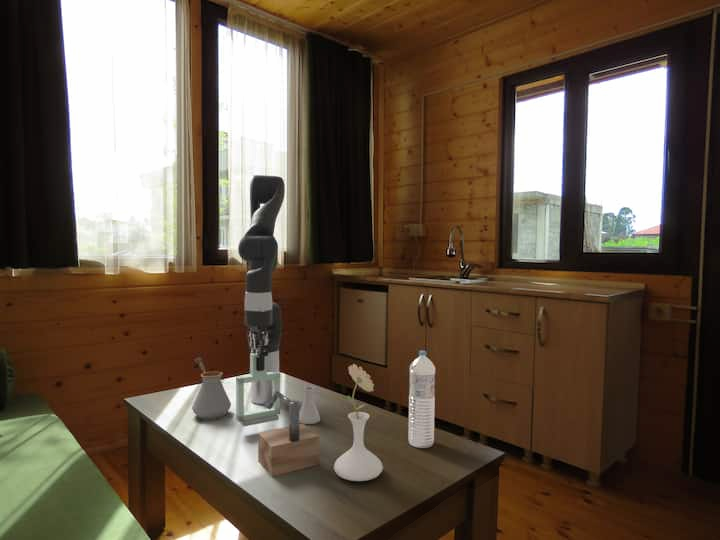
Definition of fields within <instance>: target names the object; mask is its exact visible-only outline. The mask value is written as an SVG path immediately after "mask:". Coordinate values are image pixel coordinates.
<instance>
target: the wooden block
mask: <svg viewBox="0 0 720 540" xmlns="http://www.w3.org/2000/svg"><path fill="white" fill-rule="evenodd" d="M257 435H258V436H257V438H258V439H257V445H258V446H257V448H258V450H257V460H258V461H257V462H260V463H261V464H260V463H259V464H260V465H261V466H262V467H263V468H265V469H266V470H267V471H268V472H269V473H268V472H267V471H266V470H265V469H264V470H265V471H266V472H267V473H268V475H269V476H270V475H271V476H273V477H275V475H277V476H280V475H284V474H287V473H291V472H296V471H299V470H303V469H306V468H310V467H315V466H318V465H319V464H320V461H319V460H320V457H319V456H320V435H318V434H317V433H316V432H315V431H313V429H311V428H309V427H308V426H307V424H302V423H299V441H297V442H291V441H289V426H286V427H281V428H276V429H271V430H267V431H266V430H265V431H260V432H258V433H257ZM271 476H270V477H271Z"/></svg>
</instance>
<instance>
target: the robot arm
mask: <svg viewBox="0 0 720 540" xmlns="http://www.w3.org/2000/svg"><path fill="white" fill-rule="evenodd" d="M249 181H250V182H249V202H250V203H249V205H250V206H249V207H250V210H249V211H250V213H249V214H250V223H249V228H248V229H247V230H246V232H245V233H244V234H243V235H242V237H241V238H240V240H239V243H238V248H237V249H238V255H239V257H240V259H242V260H243V261H245V262H249V265H248V267H249V268H248V269H249V270H248V271H247V272H246V274H245V293H244V294H245V295H244V326H246V327H247V328H248V329H249V330H247V332H246V334H247V335H246V336H247V343H248V350H249V352H250V353H256V370H257V371H263V370H264V357H266V356H267V372H274V371H278V372H280V345H281V344H280V343H281V340H282V337H281V336H282V321H283V319H282V318H283V316H282V309H281V306H280V305H279V304H278V303H277V302H274V301H273V297H272V276H273V274H274V273H275V271H276V269H277V266H278V261H279V258H278V257H279V256H278V255H279V251H278V250H279V244H278V241H277V239H276V238H275V235H274V234H275V228H276V221H277V218H278V215H279V212H280V210H281V208H282V205H283V202H284V199H285V192H286V191H285V189H286V188H285V181H284V179H283V178H282V177H280V176H276V175H262V174H260V175H259V174H255V175H252V176H251V179H250V180H249ZM261 204H262V205H261ZM250 383H251V384H250V385H251V387H250V389H251V391H250V394H251V395H250V397H251V398H250V399H251V400H250V401H251V402H252V403H253V404H257V405H264V402H265V401H267V402H269V403H270V401H271V399H272V379H269V380H262V381H256V382H250Z"/></svg>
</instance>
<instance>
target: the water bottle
mask: <svg viewBox="0 0 720 540" xmlns="http://www.w3.org/2000/svg"><path fill="white" fill-rule="evenodd" d="M418 353H419V354H418V355H419V356H418V357H416V358H415V359H414V360H413V361H412V362H411V364H410V365H409V395H408V432H407V433H408V438H407V439H408V443H409V445H411V447H414V448H418V449H428V448H431V447H432V446H433V445H434V443H435V441H434V440H435V409H436V408H435V403H436V401H435V400H436V399H435V398H436V397H435V389H436V388H435V383H436V382H435V381H436V380H435V378H436V367H435V364H434V363H433V362H432V361H431V359H429V358H428V357H427V351H426V350H419V351H418Z"/></svg>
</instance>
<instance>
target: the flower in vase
mask: <svg viewBox="0 0 720 540" xmlns="http://www.w3.org/2000/svg"><path fill="white" fill-rule="evenodd" d="M348 373H349V376H351V378H352V380H353V381H354V382H355V386H354V389H353V391H352V396H350V395H347V396H346V399H345V400H347V402H348V401H349V402H350V403H351V404H352V405H353V407H354V412H350V413H349V414H348V415H347V418H348V419H349V420H350V422H351V425H352V430H353V444H352V446H351V448H350V449H348V450H347V451H346V452H344V453H343V454H340V456H339V457H338V458H337V459H336V460H335V462H334V464H333V471H334V472H335V473H336V475H337V476H339V477H340V478H341V479H344V480H347V481H351V482H352V481H353V482H365V481H370V480H374V479H375V478H377V477H379V475H381V473H382V472H383V469H384V466H383V463H382V461H381V460H380V459H379V458H378V457H377V455H375V454H374V453H372V451H370V450H368V449H367V448H366V447H365V444H364V434H365V433H364V432H365V427H366V423H367V421H368V420H369V419H370V414H369V413H368V412H363V411H358V410H360V409H362V408H363V407H365V406H366V405H368V403H367V402H365V403H364V404H361V405H359V406H358V407H356V403H355V399H354V397H355V393H356V389H357V386H358V387H359V388H361V389H362V390H363V391H366V392H374V387H375V384H374V383H373V380H372V379H371V375H369V373H367V372H366V370H363V367H362V366H359V367H358V366H357V364H355V363H353V364H352V365H349V366H348Z"/></svg>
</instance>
